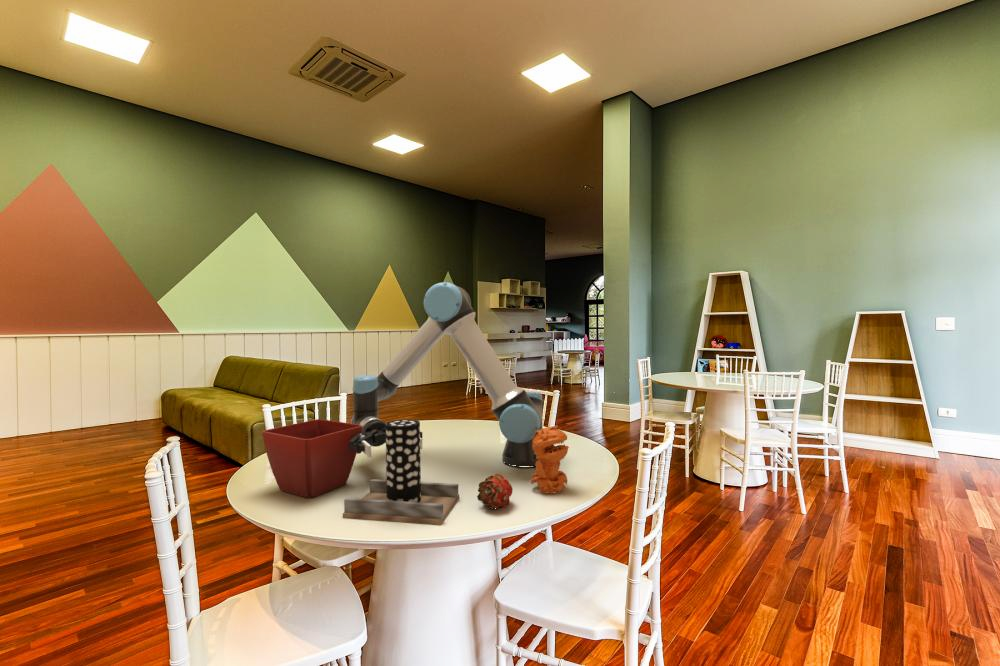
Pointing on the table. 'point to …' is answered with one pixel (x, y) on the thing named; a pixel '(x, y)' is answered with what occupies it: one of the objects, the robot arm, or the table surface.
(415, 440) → the spotted tube
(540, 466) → the toy dinosaur
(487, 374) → the robot arm
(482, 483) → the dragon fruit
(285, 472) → the plant pot
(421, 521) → the track
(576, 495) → the table surface
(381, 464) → the table surface
